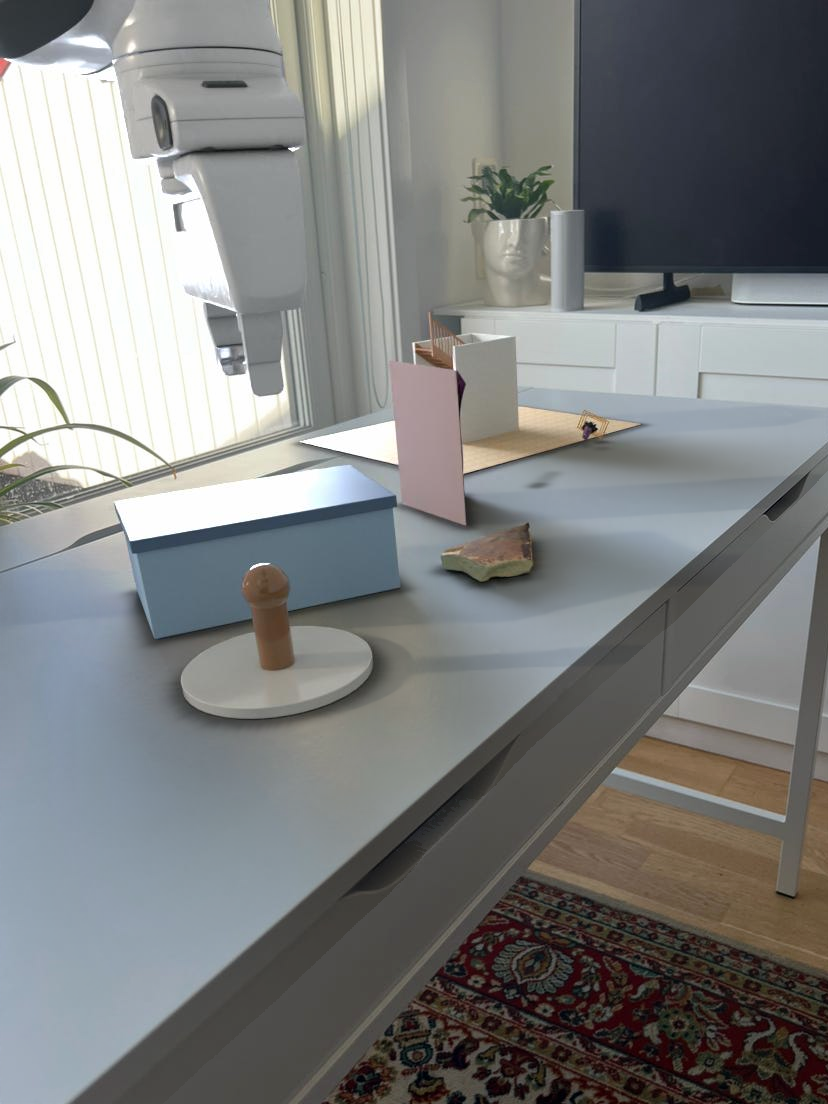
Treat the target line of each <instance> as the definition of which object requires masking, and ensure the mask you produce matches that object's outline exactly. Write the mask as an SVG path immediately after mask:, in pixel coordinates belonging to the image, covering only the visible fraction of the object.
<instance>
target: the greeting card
mask: <svg viewBox="0 0 828 1104" xmlns="http://www.w3.org/2000/svg"><path fill="white" fill-rule="evenodd" d="M388 363H389V364H388V365H389V376H390V386H391V397H392V398H391V399H392V407H393V418H394V420H393V421H395V432H396V443H397V454H398V465H397V466H398V475H399V476H398V477H399V486H400V496H401V504H402V505H404V506H408V507H410V508H413V509H417V510H419V511H422V512H425V513H428V514H431V515H434V516H437V517H439V518H442V519H446V520H449V521H450V522H454V523H457V524H460V525H463V526H467V516H466V492H465V477H464V475H465V474H463V446H462V438H461V427H460V410H461V402H462V397H463V393H464V389H465V386H466V383H465V381H464V380H463V378H462V377H461V375H460V373H459V372H458V370H457V371H456V366H455V361H454V356H453V367H454V370H451V369H444V368H437V367H430V366H423V365H417V364H414V363H409V362H402V361H397V360H388Z"/></svg>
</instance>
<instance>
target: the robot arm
mask: <svg viewBox="0 0 828 1104" xmlns="http://www.w3.org/2000/svg"><path fill="white" fill-rule="evenodd" d="M0 59H4V60H6V61H7V62H8V61H9V62H10V63H14V64H16V65H19V66H23V67H27V68H31V69H38V70H43V71H44V70H45V71H51V72H58V73H65V74H69V75H72V76H73V75H74V76H77V77H79V76H80V77H85V78H92V79H100V80H106V81H115V82H116V85H117V91H118V98H119V102H120V108H121V112H122V118H123V123H124V129H125V134H126V140H127V145H128V150H129V156H130V160H131V161H132V162H134V163H135V164H140V165H141V164H143V165H156V170H157V171H156V172H157V176H158V179H159V189H160V193H161V194H162V195H163V196H167V206H168V213H169V219H170V220H169V221H170V227H171V233H172V234H171V235H172V240H173V246H174V253H175V259H176V260H175V261H176V265H177V266H176V267H177V271H178V277H179V279H180V284H181V288H182V291H183V292H184V294H185V295H186V296H187V297H190V298H193V299H196V300H198V301H199V300H200V301H201V303H202V310H203V314H204V316H203V317H204V320H205V323H206V325H207V329H208V332H209V335H210V338H211V341H212V344H213V346H214V353H215V357H216V363H217V368H218V370H219V372H220V373H222V374H224V375H225V376H228V377H233V376H241V375H245V383H246V387H247V390H248V391H249V392H251V393H252V394H253V395H255V396H257V397H268V396H277V395H279V394H281V393H282V392H283V391H284V385H285V384H284V377H283V369H282V362H281V361H282V351H283V335H284V326H283V320H282V313H281V312H285V311H294V310H299V309H301V308H302V307H303V305H304V303H305V299H306V293H307V285H308V284H307V283H308V260H307V242H306V225H305V224H306V223H305V208H304V196H303V184H302V174H301V167H300V164H299V163H300V162H299V160H298V157H297V155H296V153H295V152H296V150H299V149H301V148H303V147H304V146H305V145H306V143H307V138H308V137H307V125H306V115H305V109H304V105H303V103H302V100H301V98H300V97H299V96H298V95H297V94H296V93H295V92H294V91H293V90H291V89H290V88H289V86H288V82H287V74H286V67H285V58H284V51H283V47H282V43H281V39H280V38H279V36H278V33H277V30H276V28H275V24H274V21H273V17H272V12H271V7H270V0H0Z"/></svg>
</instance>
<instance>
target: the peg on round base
mask: <svg viewBox="0 0 828 1104" xmlns="http://www.w3.org/2000/svg"><path fill="white" fill-rule="evenodd" d="M241 592H242V595H243V598H244V600H245V601H246V602H247V604H249V605H250V609H251V615H252V619H251V620H252V626H253V631H251V632H247V633H243V634H240V635H237V636H234V637H231V638H229V639H225V640H223V641H221V642H219V643H216V644H214V645H212V646H211V647H208V648H206V649H205V650H203V651H202V652H200V653H198V654H197V655H196V656H195V657H193V658H192V659H191V660H190V661H189V662H188V663H187V664H186V666H185V667H184V669H183V670H182V673H181V676H180V685H181V689H182V690H181V691H182V695H183V697H184V698H185V701H186V702H188V703H189V704H190V706H192V707H194V708H195V709H197V710H199V711H201V712H204V713H206V714H210V715H213V716H216V717H222V718H229V719H236V720H237V719H238V720H239V719H241V720H244V719H245V720H259V719H273V718H281V717H287V716H292V715H297V714H302V713H306V712H308V711H313V710H316V709H320V708H322V707H325V706H328V705H330V704H332V703H335V702H336V701H340V700H341V699H343V698H345V697H347V696H348V695H350V694H352V693H353V692H355V691H356V690H357V689H359V688H360V687H361V686H362V685H363V684H364V683H365V682H366V681H367V680H368V678H369V677H370V676H371V674H372V670H373V667H374V658H373V652H372V647H371V646H370V645H369V643H368V642H366V640H365V639H364V638H362V637H360V636H358V635H357V634H354V633H352V632H350V631H346V630H344V629H339V628H335V627H329V626H321V625H320V626H319V625H292V626H291V623H290V615H289V611H288V609H287V603H286V600H287V598H288V596H289V593H290V582H289V579H288V577H287V575H286V574H285V572H284V571H283V570H282V569H281V568H279V567H278V566H276V565H273V564H269V563H262V564H257V565H255V566H253V567H251V568H250V569H249V570H248V571H247V572H246V573H245V575H244V576H243V579H242V582H241Z"/></svg>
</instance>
